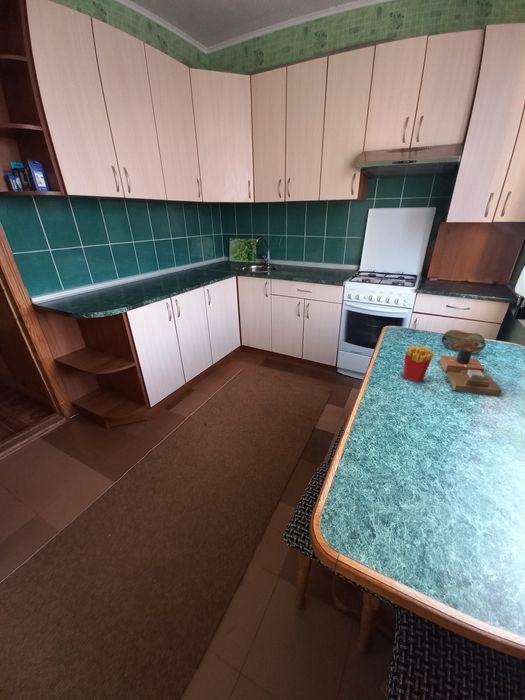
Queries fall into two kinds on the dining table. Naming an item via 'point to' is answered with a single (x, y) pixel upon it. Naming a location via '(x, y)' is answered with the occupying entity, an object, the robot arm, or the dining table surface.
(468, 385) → the stepped nested square plaque
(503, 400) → the dining table surface
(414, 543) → the dining table surface
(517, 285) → the robot arm
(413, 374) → the french fries
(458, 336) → the tin
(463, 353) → the volume knob
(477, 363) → the volume box
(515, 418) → the dining table surface
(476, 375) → the key
